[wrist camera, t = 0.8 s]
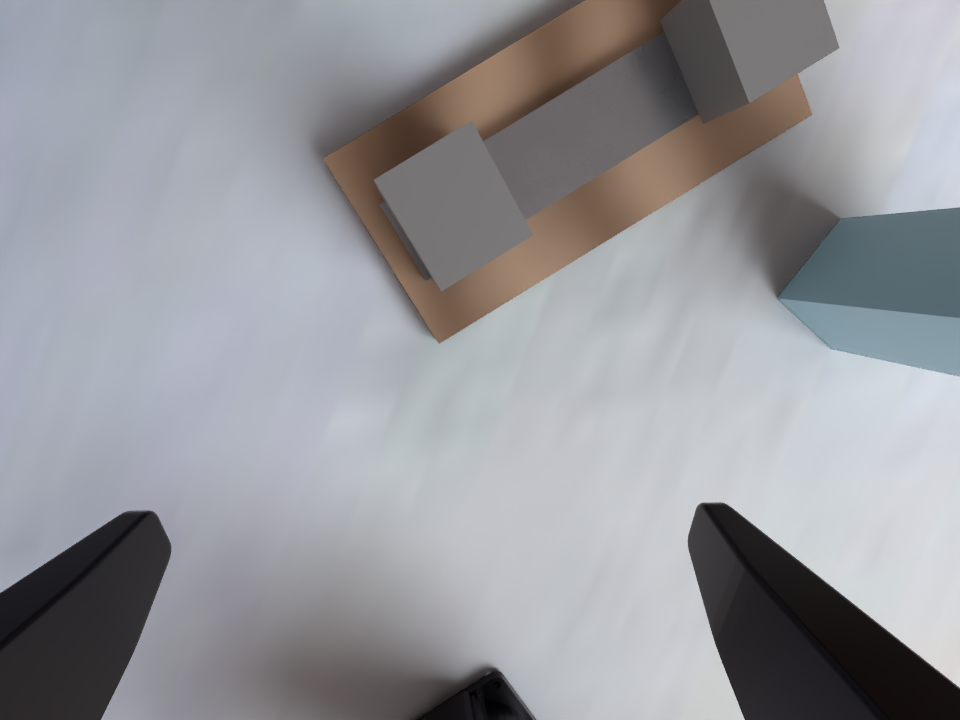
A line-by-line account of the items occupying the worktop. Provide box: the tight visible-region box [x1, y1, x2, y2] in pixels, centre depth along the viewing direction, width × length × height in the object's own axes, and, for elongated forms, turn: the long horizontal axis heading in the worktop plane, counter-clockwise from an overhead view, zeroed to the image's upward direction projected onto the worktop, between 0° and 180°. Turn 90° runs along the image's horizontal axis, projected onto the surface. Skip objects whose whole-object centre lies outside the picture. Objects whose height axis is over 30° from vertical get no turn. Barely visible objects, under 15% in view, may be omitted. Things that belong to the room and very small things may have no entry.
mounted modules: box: [374, 0, 839, 291], centre depth 19 cm, size 18×4×3 cm, turn 121°
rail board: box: [323, 0, 812, 343], centre depth 22 cm, size 20×9×1 cm, turn 121°
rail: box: [380, 32, 699, 281], centre depth 21 cm, size 18×4×1 cm, turn 121°
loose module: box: [777, 208, 960, 376], centre depth 21 cm, size 4×5×10 cm
